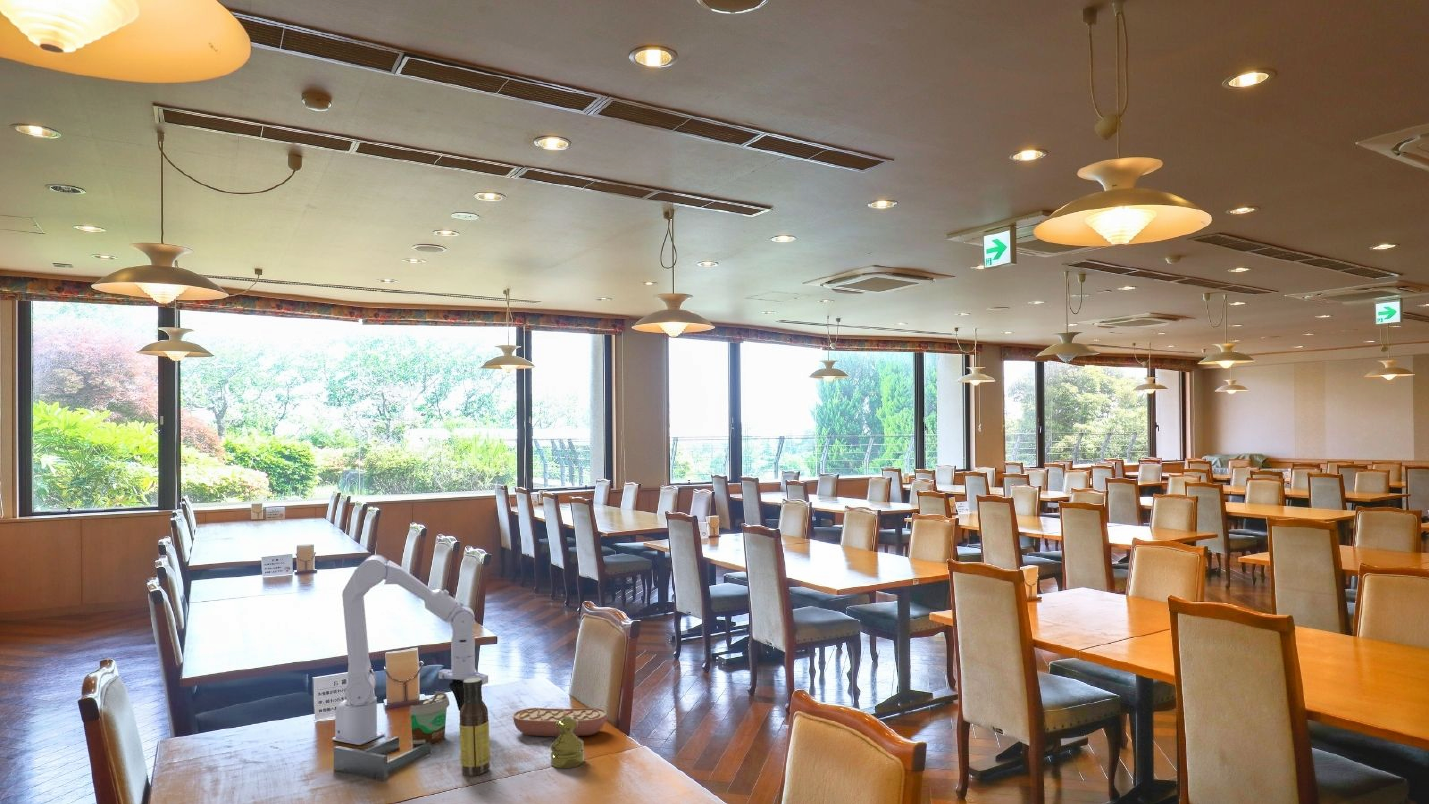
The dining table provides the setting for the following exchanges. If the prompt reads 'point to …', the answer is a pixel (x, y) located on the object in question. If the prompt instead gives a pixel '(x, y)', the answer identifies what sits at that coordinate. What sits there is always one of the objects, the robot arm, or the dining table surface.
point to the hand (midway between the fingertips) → (463, 709)
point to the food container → (429, 720)
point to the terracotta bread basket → (545, 720)
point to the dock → (376, 759)
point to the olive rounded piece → (567, 745)
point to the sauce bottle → (474, 730)
